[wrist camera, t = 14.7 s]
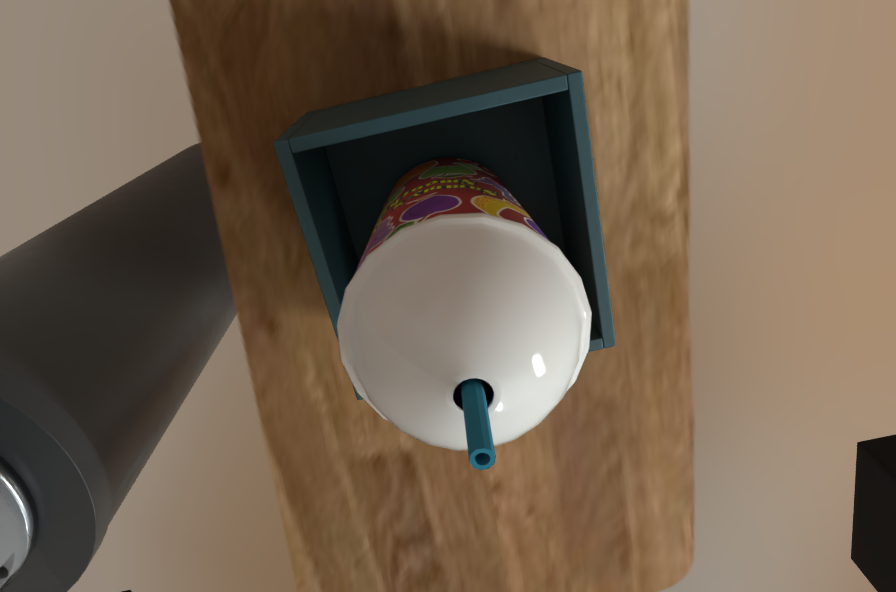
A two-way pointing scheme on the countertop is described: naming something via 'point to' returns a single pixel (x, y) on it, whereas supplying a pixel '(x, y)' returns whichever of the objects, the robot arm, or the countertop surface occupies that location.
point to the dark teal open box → (444, 136)
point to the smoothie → (462, 313)
